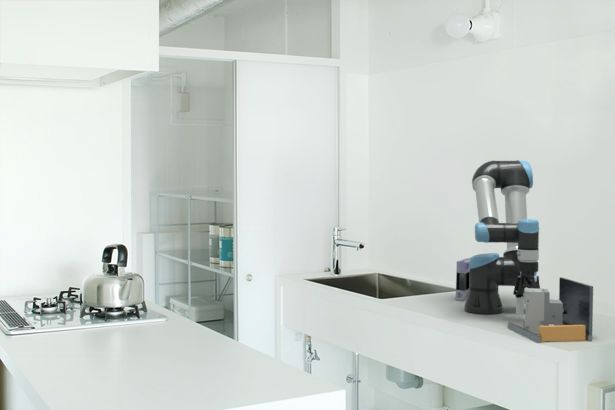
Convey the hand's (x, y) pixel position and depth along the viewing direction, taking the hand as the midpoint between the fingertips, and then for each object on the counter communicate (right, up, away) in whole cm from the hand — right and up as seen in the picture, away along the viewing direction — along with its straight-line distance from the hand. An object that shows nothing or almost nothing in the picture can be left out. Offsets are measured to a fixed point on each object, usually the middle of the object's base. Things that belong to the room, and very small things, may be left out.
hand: (527, 318), depth 286 cm
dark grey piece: (+3, -3, -17) cm, 17 cm away
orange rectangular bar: (+4, -4, -27) cm, 27 cm away
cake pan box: (-10, 0, +60) cm, 60 cm away
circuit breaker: (+2, -3, -14) cm, 15 cm away
